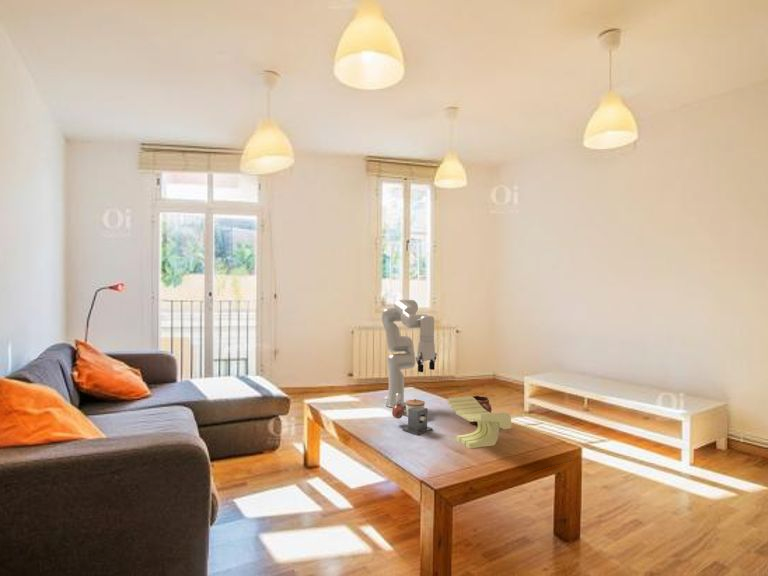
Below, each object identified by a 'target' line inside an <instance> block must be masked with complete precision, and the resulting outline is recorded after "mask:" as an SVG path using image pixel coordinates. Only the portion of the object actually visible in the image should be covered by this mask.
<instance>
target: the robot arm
mask: <svg viewBox="0 0 768 576" xmlns="http://www.w3.org/2000/svg"><path fill="white" fill-rule="evenodd" d="M418 309H419V305H418V303H417V301H415V300H414V299H398V300H396V301H395V302H394V304H393V307H388V308H385V309H383V310H382V312H381V321H382V325H383V327H384V330H385V335H386V344H387V348H388V351H390V352H392V353H393V354H390V355H389V356H388V357H387V358H386V359H387V360H386V362H387V368H388V369H387V370H388V395H386V396H385V397H384V400H386V402H385V406H386V407H388V408H392V409H393V408H394V406H395V405H396V394H397V393H400V394H401V406H403V408H406V401H405V376H404V374H403V372H402V371H401V370H410V369H413V368H415V366H416V364H417V371H418V372H419V373H424V363H425V362H426V361H429V363H428V364H429V365H428V366H429V368H428V369H429V370H432V371H435V365H436V364H435V363H436V360H437V356H438V353H437V352H436V348H435V347H436V346H435V317H434V316H432V315H429V314H421V313H420V314H417V313H418ZM395 322H401V324H403V326H405V327H406V328H408V329H419V342H418V345H417V353H415V350H414V348H415V347H414V344H413V340H412V338H411V337H410V336H408V335H404V336H402V335H401V334H400V328H399V327H398V325H397V324H396V323H395ZM400 352H403V353H400ZM415 354H416V355H415Z"/></svg>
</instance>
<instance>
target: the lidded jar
mask: <svg viewBox="0 0 768 576" xmlns="http://www.w3.org/2000/svg"><path fill="white" fill-rule="evenodd" d="M425 402H426V401H424V400H420V399H416V398H414V399H408V400H406V401H405V403H406V406H405V410H406V412H408V409H410V408H414V407H417V406H420V407H424V408H425Z"/></svg>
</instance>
